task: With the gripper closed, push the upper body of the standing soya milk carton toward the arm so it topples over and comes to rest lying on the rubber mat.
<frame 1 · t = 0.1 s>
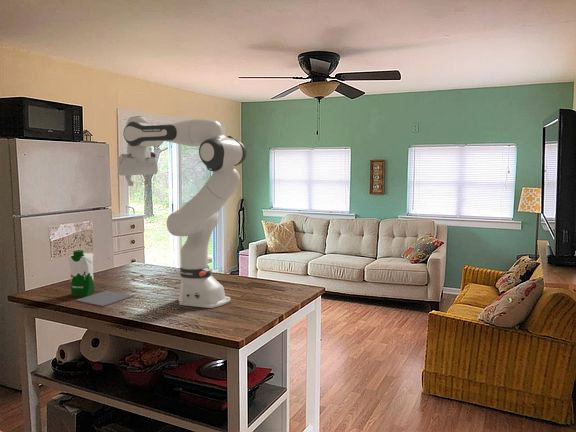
hand: (139, 185, 213), 48 cm above the table, fingers open, 8 cm apart
soya milk: (83, 294, 212), on the table
mat: (104, 298, 205), on the table
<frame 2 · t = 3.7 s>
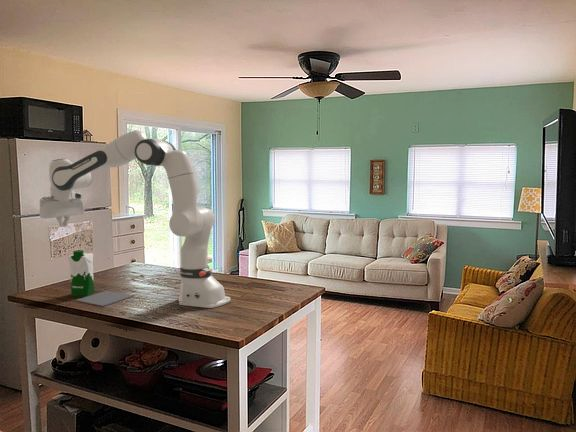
hand: (63, 226, 214), 30 cm above the table, fingers closed
nothing on the table moved.
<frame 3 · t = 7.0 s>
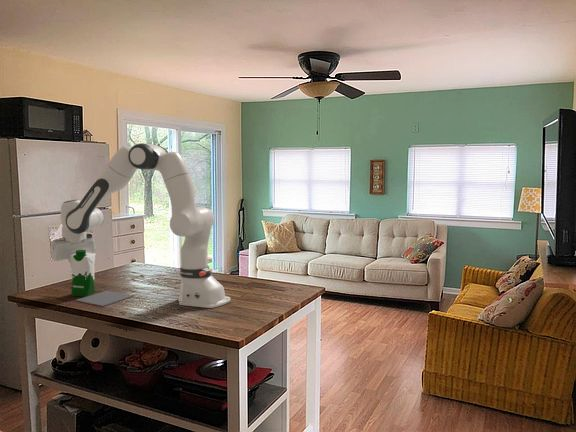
hand: (75, 267, 213), 12 cm above the table, fingers closed
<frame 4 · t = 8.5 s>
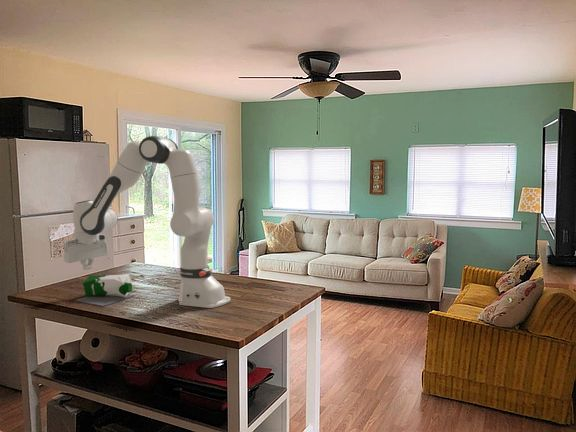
hand: (87, 269, 208), 12 cm above the table, fingers closed
soya milk: (87, 286, 209), point 4 cm above the table, touching mat
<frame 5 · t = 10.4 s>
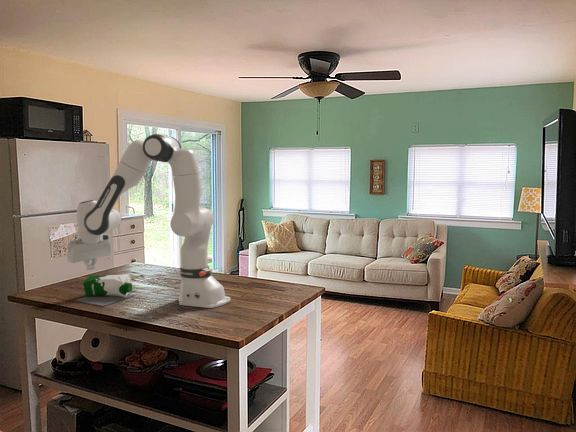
hand: (90, 269, 207), 12 cm above the table, fingers closed
nothing on the table moved.
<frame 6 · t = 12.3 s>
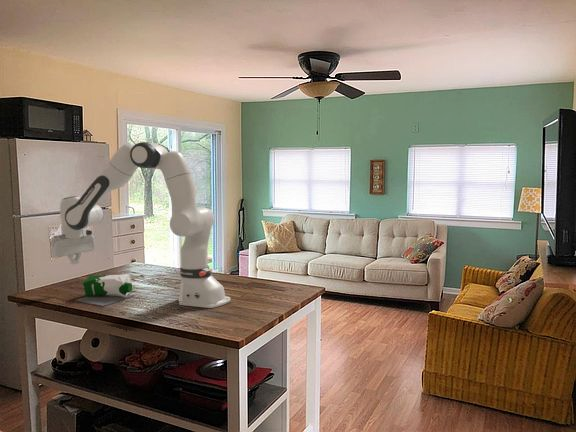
hand: (74, 263, 212), 13 cm above the table, fingers closed
nothing on the table moved.
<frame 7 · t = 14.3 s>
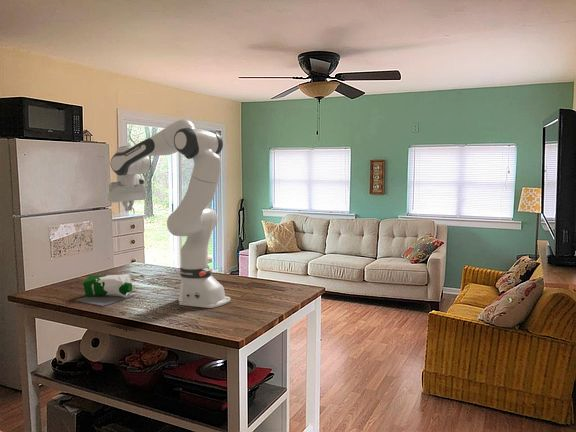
hand: (128, 210, 224), 35 cm above the table, fingers closed
nothing on the table moved.
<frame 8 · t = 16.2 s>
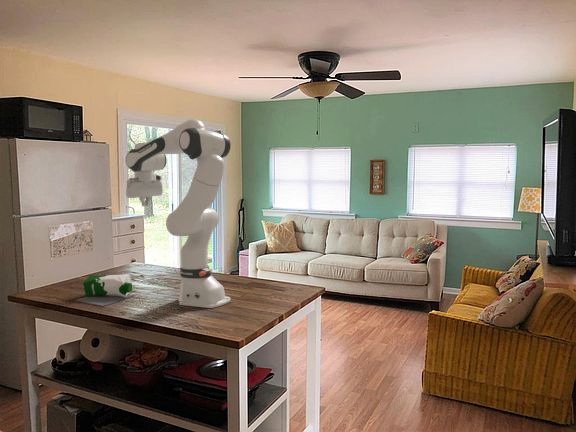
hand: (145, 206, 229), 37 cm above the table, fingers closed
nothing on the table moved.
at the end: soya milk tilted 88°; soya milk inside the target area (10.0 cm from its centre), point 4.4 cm above the table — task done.
